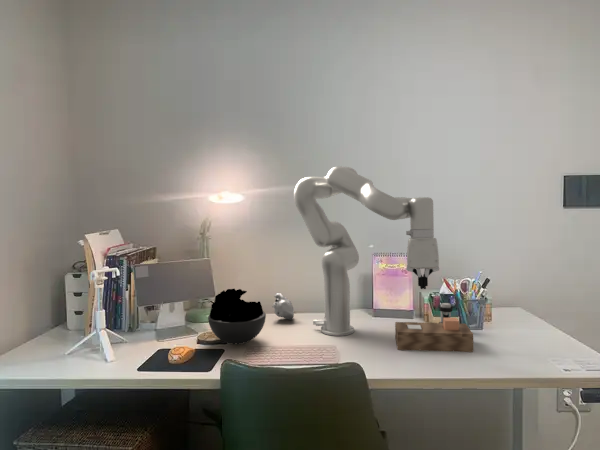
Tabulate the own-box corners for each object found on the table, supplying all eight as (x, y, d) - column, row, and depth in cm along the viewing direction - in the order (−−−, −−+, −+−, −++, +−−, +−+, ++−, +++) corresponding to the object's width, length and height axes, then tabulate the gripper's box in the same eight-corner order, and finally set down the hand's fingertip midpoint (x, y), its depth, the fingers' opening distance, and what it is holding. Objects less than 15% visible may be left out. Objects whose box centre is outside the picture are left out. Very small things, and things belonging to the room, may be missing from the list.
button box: (397, 349, 155) (397, 332, 154) (395, 338, 166) (395, 321, 166) (473, 352, 151) (473, 333, 151) (465, 340, 163) (465, 323, 163)
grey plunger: (408, 345, 158) (408, 328, 157) (407, 341, 162) (407, 324, 162) (421, 346, 157) (421, 328, 157) (420, 342, 161) (420, 325, 161)
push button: (454, 328, 178) (454, 302, 177) (458, 332, 173) (458, 305, 172) (436, 327, 178) (437, 302, 178) (439, 332, 173) (440, 305, 172)
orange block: (445, 338, 156) (445, 321, 155) (442, 334, 160) (443, 317, 160) (458, 339, 155) (458, 321, 155) (456, 335, 160) (456, 317, 159)
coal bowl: (236, 331, 178) (235, 282, 177) (277, 340, 166) (276, 288, 165) (196, 345, 162) (195, 292, 160) (239, 356, 150) (238, 299, 149)
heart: (289, 325, 184) (291, 294, 185) (268, 322, 188) (270, 292, 189) (299, 323, 193) (302, 294, 194) (279, 320, 197) (281, 292, 198)
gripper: (400, 235, 154) (401, 290, 155) (446, 234, 152) (447, 290, 153) (398, 233, 161) (399, 286, 163) (443, 232, 159) (444, 286, 160)
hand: (422, 288), depth 158 cm, fingers closed
